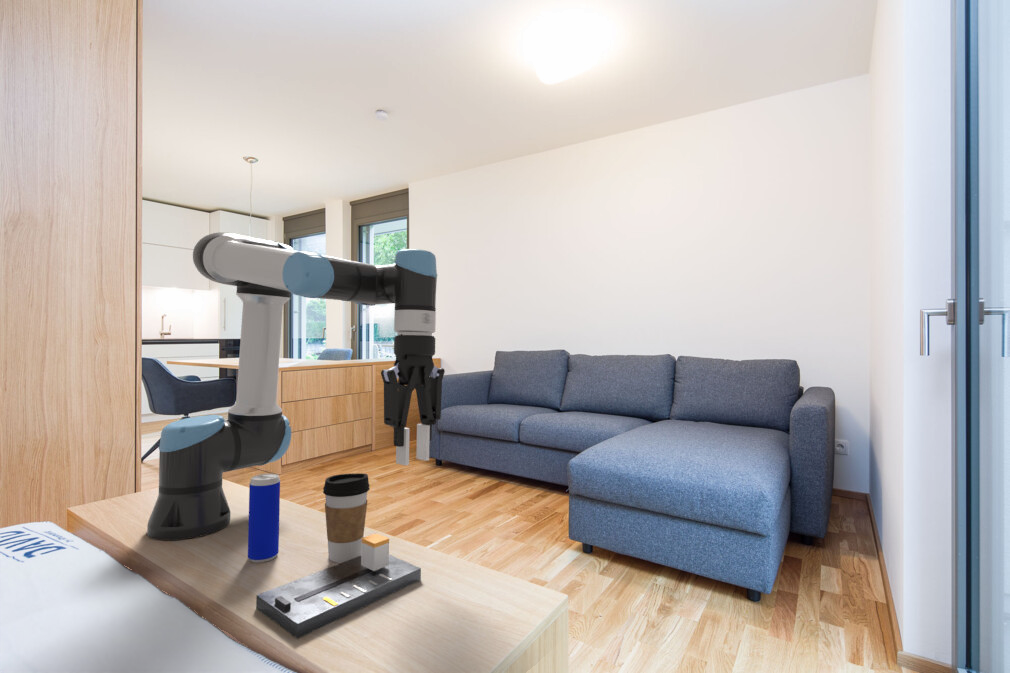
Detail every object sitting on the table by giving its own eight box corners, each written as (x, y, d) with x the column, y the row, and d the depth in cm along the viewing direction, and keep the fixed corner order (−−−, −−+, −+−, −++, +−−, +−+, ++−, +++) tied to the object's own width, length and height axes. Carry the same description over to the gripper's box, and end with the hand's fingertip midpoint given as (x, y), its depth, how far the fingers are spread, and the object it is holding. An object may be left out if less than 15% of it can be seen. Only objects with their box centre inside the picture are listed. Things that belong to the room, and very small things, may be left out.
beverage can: (284, 555, 93) (286, 475, 93) (260, 565, 88) (262, 481, 88) (265, 549, 95) (267, 472, 95) (241, 560, 90) (243, 478, 91)
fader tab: (361, 564, 83) (361, 538, 83) (375, 559, 86) (376, 533, 86) (374, 571, 81) (374, 543, 81) (388, 565, 83) (389, 538, 84)
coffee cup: (354, 567, 88) (356, 483, 88) (312, 563, 89) (314, 480, 90) (376, 549, 96) (377, 472, 96) (336, 545, 98) (338, 469, 98)
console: (256, 608, 74) (256, 589, 74) (377, 560, 91) (377, 544, 91) (297, 638, 66) (297, 617, 66) (420, 580, 83) (420, 563, 84)
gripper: (390, 332, 81) (387, 474, 81) (462, 335, 95) (460, 457, 94) (363, 333, 86) (360, 466, 86) (435, 335, 100) (433, 451, 99)
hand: (412, 461), depth 90 cm, fingers open, 4 cm apart
